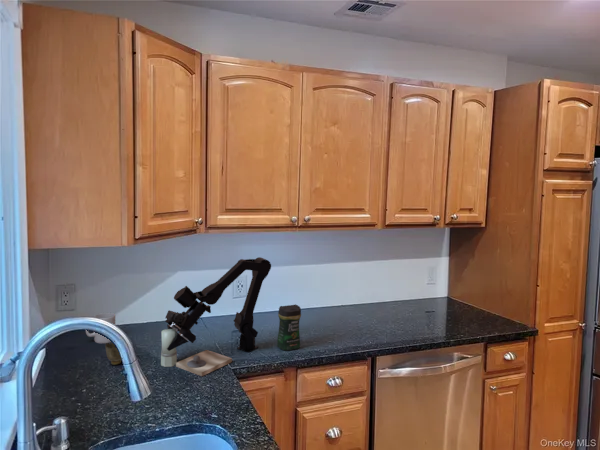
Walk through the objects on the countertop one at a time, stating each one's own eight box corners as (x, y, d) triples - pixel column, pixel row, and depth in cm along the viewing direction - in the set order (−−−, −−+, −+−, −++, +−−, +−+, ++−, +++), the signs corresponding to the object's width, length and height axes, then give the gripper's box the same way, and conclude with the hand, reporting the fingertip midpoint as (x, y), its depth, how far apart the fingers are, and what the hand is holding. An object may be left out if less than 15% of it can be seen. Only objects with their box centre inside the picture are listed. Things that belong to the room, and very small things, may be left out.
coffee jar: (282, 352, 185) (283, 309, 183) (274, 346, 192) (275, 304, 190) (303, 348, 190) (304, 306, 188) (294, 342, 196) (295, 301, 194)
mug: (112, 335, 199) (112, 311, 198) (118, 340, 193) (117, 316, 192) (83, 340, 192) (83, 316, 191) (88, 346, 185) (88, 321, 184)
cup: (120, 358, 175) (120, 338, 174) (130, 363, 170) (130, 343, 169) (101, 363, 169) (101, 343, 168) (111, 369, 165) (111, 348, 164)
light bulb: (169, 359, 175) (169, 327, 173) (179, 363, 172) (179, 330, 170) (157, 364, 170) (157, 331, 169) (167, 368, 167) (167, 334, 165)
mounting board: (206, 353, 182) (206, 342, 181) (231, 361, 174) (232, 350, 174) (175, 366, 169) (175, 354, 168) (201, 376, 161) (201, 363, 160)
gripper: (170, 297, 178) (142, 328, 173) (188, 309, 163) (158, 343, 158) (188, 313, 184) (162, 344, 178) (207, 326, 169) (179, 360, 163)
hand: (165, 347), depth 169 cm, fingers closed on light bulb, 5 cm apart
